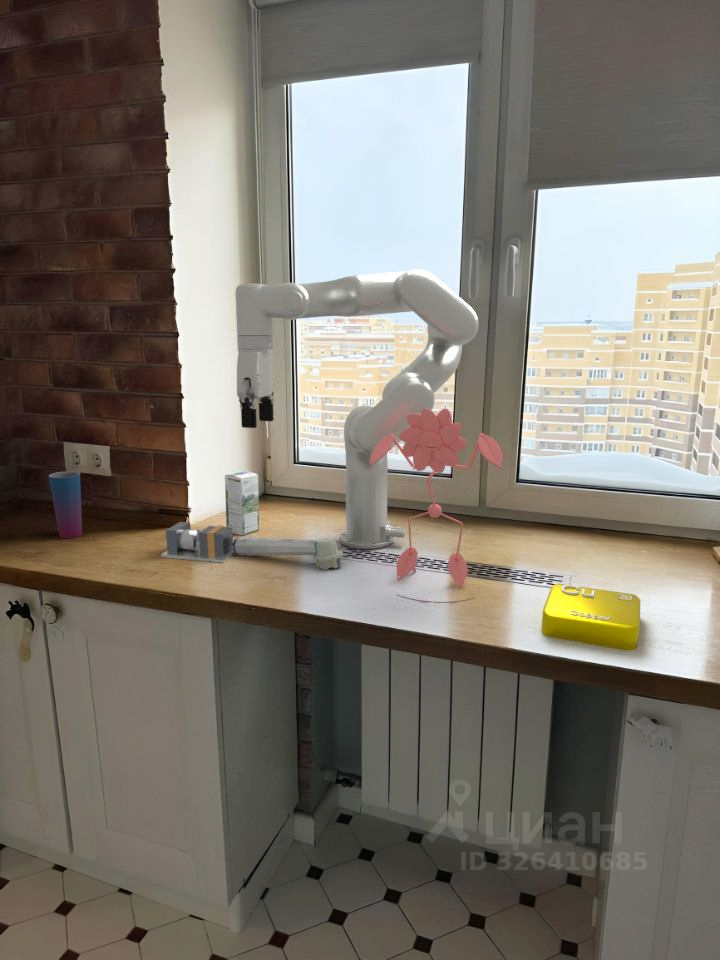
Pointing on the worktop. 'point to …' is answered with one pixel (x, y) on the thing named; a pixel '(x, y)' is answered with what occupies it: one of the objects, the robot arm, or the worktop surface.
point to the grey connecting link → (291, 549)
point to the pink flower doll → (435, 470)
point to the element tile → (592, 616)
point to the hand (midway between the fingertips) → (258, 424)
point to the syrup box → (242, 502)
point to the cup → (67, 502)
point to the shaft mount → (187, 544)
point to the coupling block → (216, 541)
